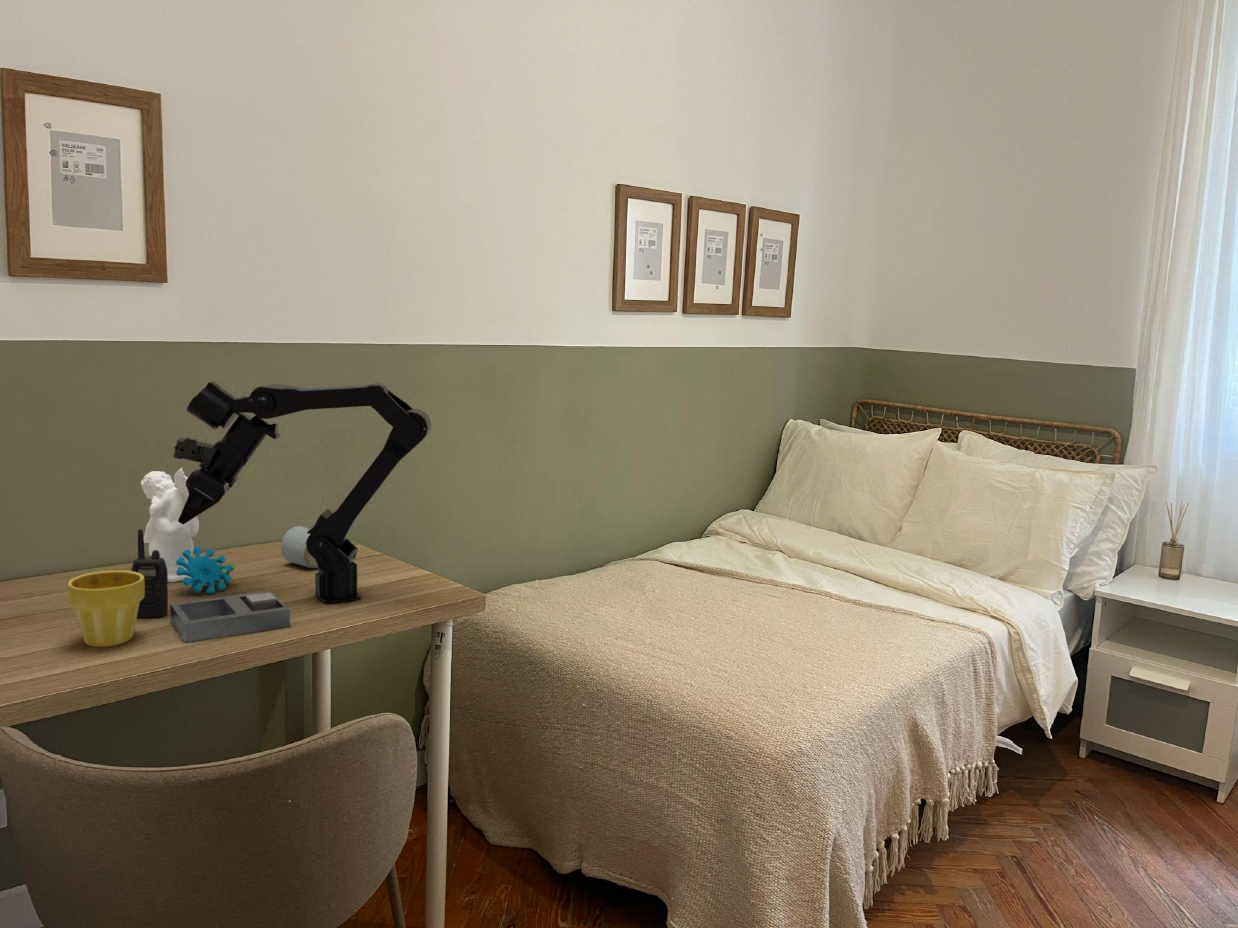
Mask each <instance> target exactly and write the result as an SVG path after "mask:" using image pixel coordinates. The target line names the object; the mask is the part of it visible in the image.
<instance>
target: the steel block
mask: <svg viewBox="0 0 1238 928" xmlns="http://www.w3.org/2000/svg"><path fill="white" fill-rule="evenodd" d="M273 594H274V593H273ZM273 594H271V593H270V592H269V593H262V594H254V595H246V605H247V606H248V607H249V608H250V609H251V610H252V611H260V610H267V609H274V608H277V598H278V597H277V596H276V595H275V594H274V595H275V596H276V597H277V598H276V597H275V596H274V595H273Z"/></svg>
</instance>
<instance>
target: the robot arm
mask: <svg viewBox="0 0 1238 928" xmlns="http://www.w3.org/2000/svg"><path fill="white" fill-rule="evenodd" d="M357 407H371V408H373V410H375V411H376V412H377V414H378V415H380V417H382V418H383V421H385V422H387V424H388V425H390V426H391V427H392V429H390V430H391V431H390V433H389V435H388V437H387V439H386V441H385V443H384V445H383V448H382V450H381V451H380V452H379V454H378V455H377V456H376V458H375V459H374V461H372V463H371V464H370V466H369V467H368V469H366V470H365V472H364V473H363V475H362V476H361V478H360V479H358V481H357V483H356V484H355V485H354V486H353V488H352V490H351V491H350V492H349V494H348V495H347V496H346V497H345V498H344V500H343V501H342V503H341V504H339V507H338V508H337V509H336V510H335V511H333V512H332V510H330V508H326V509H325V510H323V512H322V513H321V514H320V515H319V516H318V518H317V520H316V522H315V523H314V525H312V527H310V528H309V529H310V530H308V531H307V534H310V535H309V536H308V538H307V540H306V547H307V551H308V552H309V554H310V555H311V556H312V557H313V558H315V560H316V562H317V565H318V568H317V572H316V573H315V574H314V579H315V580H314V581H315V582H314V583H315V584H314V589H315V590H314V591H315V592H314V595H315V596H316V597H317V598H318V599H319V600H321V601H322V602H323V603H324V604H334V603H340V602H347V601H355V600H360V599H361V597H362V596H361V595H360V594H359V593H358V564H357V563H356V562H354V560H355V558H356V557H357V553H358V551H359V549H358V547H357V546H356V545H355V544H354V543H353V542H352V541H350V540H349V539H348V537H349V535H350V533H351V531H352V529H353V527H354V524H355V522H356V520H357V518H358V517H359V515H360V514H361V512H362V511H363V510H364V509H365V508H366V506H367V505H368V504H369V502H370V501H371V499H373V497H374V495H375V494H376V493H377V492H378V490H379V489H380V487H381V486H382V485H383V483H384V482H386V479H388V477H389V476H390V475H391V473H392V471H394V469H395V468H396V467H397V466H398V464H399V463H400V461H401V460H402V459H403V458H405V457H406V456H407V455H408V454H409V453H410V452H411V451H412V450H414V449H415V448H416V447H417V446H418V445H419V444H420V443H422V442H423V440H424V439H425V438H426V437H427V436H428V435H429V433H430V431H431V430H432V422H431V418H430V417H429V414H427V412H425V411H424V410H422V409H419V408H413V407H412V406H411V405H410V404H409V403H407V402H406V401H405V400H403V399H401V398H400V397H399V396H398V395H396V394H395V393H393V392H392V391H391V390H389V388H388V387H387V386H386V385H385V384H383V383H380V382H375V383H372V384H371V383H370V384H362V385H361V384H360V385H359V384H358V385H344V386H343V385H342V386H325V387H323V386H322V387H311V388H310V387H309V388H307V387H302V386H294V385H287V384H278V383H270V384H265V385H262V386H258V387H256V388H254V389H253V391H251V392H250V394H249V396H246V395H244V396H241V397H238V398H237V397H236V396H234V395H232V394H231V393H229V391H227V390H225V389H223V388H222V387H221V386H220V385H219V384H218V383H217V382H216V381H210V382H208V383H207V384H206V385H205V387H204V388H202V389H201V390H200V391H199V392H198V393H197V394H196V395H195V396H193V398H192V399H191V400H190V402H189V404H188V406H187V408H186V413H188V414H190V415H192V416H193V417H195V418H197V420H199V421H201V423H204V424H205V425H206V426H209V427H210V428H211V429H213V430H214V431H216V430H218V429H219V428H222V429H224V430H225V429H227V428H228V427H229V426H230V425H231V426H230V427H229V428H228V429H227V431H226V433H225V434H224V435H223V437H222V438H221V440H220V439H219V440H217V442H215V443H214V444H210V443H207V442H204V441H200V440H198V439H193V438H191V437H179V438H178V439H177V440H176V445H175V446H174V452H173V455H172V457H173V458H175V459H177V460H178V459H179V460H188V461H192V462H196V463H200V464H199V465H198V467H200V468H197V469H195V470H194V471H192V472H191V473H190V474H189V476H187V478H188V479H187V480H186V487H187V489H188V492H189V496H188V498H187V501H186V503H185V505H184V508H183V510H182V512H181V515H180V517H179V519H178V522H179V523H181V524H185V523H187V522H188V521H190V520H191V519H193V518H194V517H196V516H197V517H198V516H199V515H202V514H203V513H204V512H206V511H207V510H208V509H210V508H211V507H214V506H215V505H217V504H218V503H219V502H220V501H221V500H222V499H223V497H224V496H225V495H226V493H227V492H228V491H229V490H230V489H231V488H233V486H234V484H235V483H236V482H237V480H238V479H239V474H241V471H242V470H243V468H244V467H245V466H246V465H247V464H248V463H249V461H250V459H251V457H252V456H253V455H254V454H255V452H256V450H257V449H258V448H259V446H261V444H262V442H263V441H264V440H265V438H266V436H268V437H269V438H271V439H273V440H277V439H280V436H281V435H280V433H279V424H278V423H276V422H274V423H269V422H268V421H266V420H269V419H273V418H278V417H283V416H287V415H290V414H294V413H298V412H302V411H307V410H323V409H324V410H325V409H340V408H357ZM247 413H248V414H253V415H254V416H253V417H251V416H249V415H248V414H247ZM236 416H237V417H236ZM235 418H236V419H235ZM264 419H265V420H264ZM231 423H232V424H231Z"/></svg>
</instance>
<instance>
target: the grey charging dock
mask: <svg viewBox="0 0 1238 928" xmlns="http://www.w3.org/2000/svg"><path fill="white" fill-rule="evenodd" d="M269 592H270V593H271V594H273V595H274V596H275V597H276V598H277V608H274V609H267V610H260V611H252V610H251V609H250V608H249V607H248V606H247V605H246V595H254V594H262V593H269ZM169 605H170V606H169V607H170V608H169V609H170V622H171V624H172V625H173V626H174V628H175V629H176V631H177V632H178V634H179V636H180V637H181V638H182V641H184V643H192V642H200V641H204V640H205V641H207V640H211V639H218V638H219V639H220V638H224V637H230V635H231V636H236V635H237V636H239V635H243V634H242V633H245V634H250V633H251V634H252V633H256V632H263V631H262V630H265V631H269V629H271V630H276V629H282V628H283V627H284V628H291V609H290V608H289V606H288V605H286V604H285V603H284V602H283V601H282V600H281V599H280V598H279V597H278V596H276V594H275V593H273V591H272V590H264V591H256V592H247V593H242V594H241V593H240V594H234V595H233V594H232V595H227V596H226V595H225V596H218V597H217V596H216V597H210V598H202V599H193V600H185V601H180V602H171V603H169ZM284 628H283V629H284Z"/></svg>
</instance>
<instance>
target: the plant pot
mask: <svg viewBox="0 0 1238 928" xmlns="http://www.w3.org/2000/svg"><path fill="white" fill-rule="evenodd" d="M144 595H145V582H144V576H143V575H142V574H140V573H137V572H132V571H131V570H105V571H104V570H102V571H95V572H89V573H85V574H81V575H77V576H75V577H73V578H72V579H70V580H69V581H68V583H67V599H68V605H69V606H71V607H72V608H73V609H74V612H75V615H76V619H77V622H78V625H79V628H80V631H81V635H82V640H83V643H84V644H86V645H87V646H90V647H94V648H97V647H99V648H100V647H101V648H104V647H112V646H117V645H122V644H125V643H127V642H129V641H130V640H132V639H133V636H134V632H135V627H136V622H137V618H138V617H137V613H138V609H139V604H140V601H141V600H142V599H143V598H144Z"/></svg>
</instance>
